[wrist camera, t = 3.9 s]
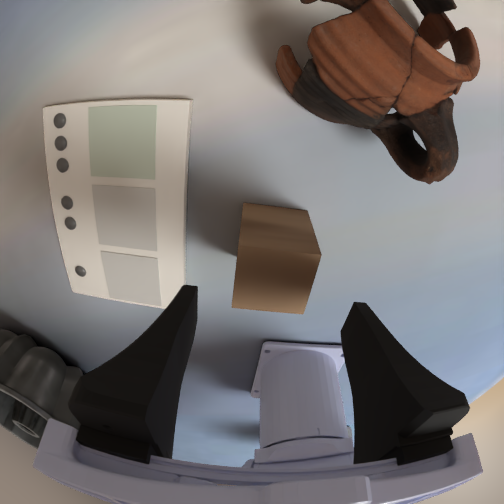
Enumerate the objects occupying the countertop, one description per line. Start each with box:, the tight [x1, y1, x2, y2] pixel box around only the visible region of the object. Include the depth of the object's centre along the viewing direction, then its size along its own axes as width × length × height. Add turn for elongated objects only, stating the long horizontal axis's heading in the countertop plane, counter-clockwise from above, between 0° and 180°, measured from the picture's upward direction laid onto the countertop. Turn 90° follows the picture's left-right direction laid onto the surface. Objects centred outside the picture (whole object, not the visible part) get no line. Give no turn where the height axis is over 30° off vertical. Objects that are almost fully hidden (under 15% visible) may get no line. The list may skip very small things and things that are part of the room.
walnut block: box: [232, 203, 321, 314], centre depth 17 cm, size 4×4×5 cm
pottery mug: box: [276, 0, 480, 184], centre depth 11 cm, size 12×10×8 cm
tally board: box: [43, 99, 193, 309], centre depth 18 cm, size 15×10×1 cm, turn 173°
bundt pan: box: [0, 329, 83, 449], centre depth 28 cm, size 26×26×10 cm
